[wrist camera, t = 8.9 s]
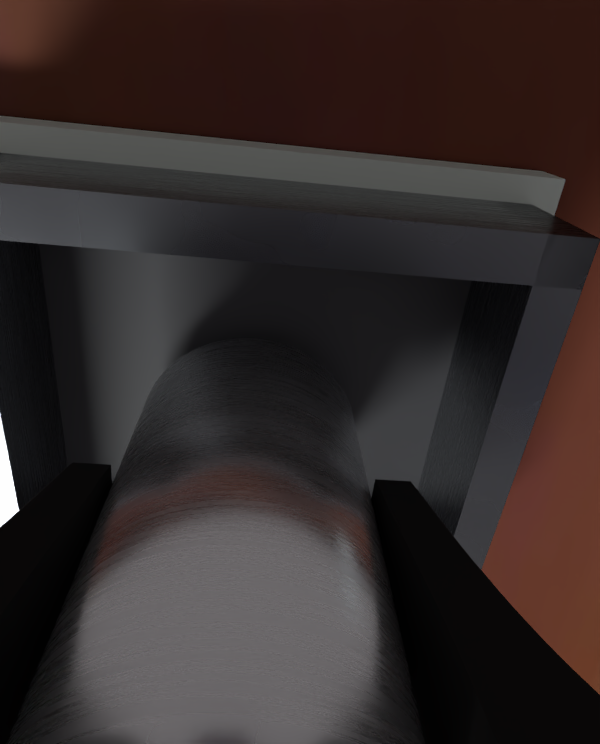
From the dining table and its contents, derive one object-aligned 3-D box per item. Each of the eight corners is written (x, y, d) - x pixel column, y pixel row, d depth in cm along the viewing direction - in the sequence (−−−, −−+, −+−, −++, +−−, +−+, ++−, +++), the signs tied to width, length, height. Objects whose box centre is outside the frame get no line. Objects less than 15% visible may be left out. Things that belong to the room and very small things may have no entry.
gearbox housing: (542, 171, 11) (645, 207, 8) (409, 626, 18) (437, 743, 15) (-82, 107, 10) (-240, 120, 7) (24, 613, 17) (-33, 735, 14)
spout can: (369, 347, 11) (538, 847, 4) (330, 569, 13) (384, 1085, 7) (138, 330, 10) (-148, 845, 3) (148, 561, 13) (5, 1095, 6)
